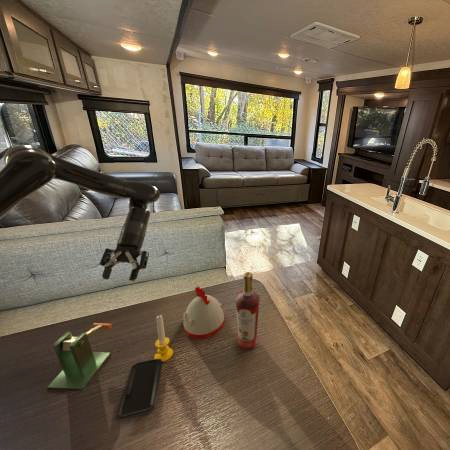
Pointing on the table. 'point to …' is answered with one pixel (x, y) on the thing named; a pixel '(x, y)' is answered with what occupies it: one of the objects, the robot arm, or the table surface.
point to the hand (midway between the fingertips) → (118, 279)
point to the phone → (141, 389)
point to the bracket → (76, 363)
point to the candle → (162, 342)
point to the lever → (95, 327)
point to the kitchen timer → (203, 316)
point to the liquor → (247, 314)
